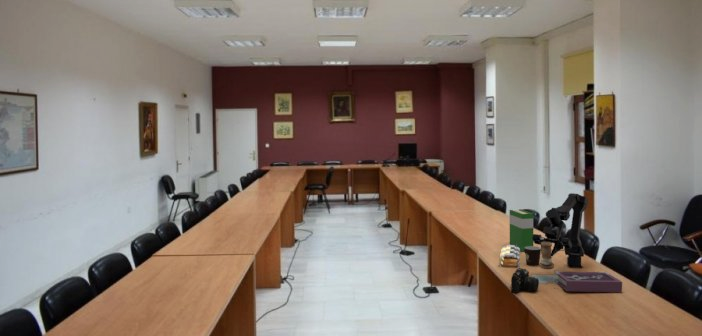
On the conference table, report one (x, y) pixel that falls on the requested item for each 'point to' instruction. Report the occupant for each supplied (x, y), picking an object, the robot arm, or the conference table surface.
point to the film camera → (523, 281)
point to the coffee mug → (532, 255)
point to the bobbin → (546, 256)
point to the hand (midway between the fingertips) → (546, 255)
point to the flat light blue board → (546, 278)
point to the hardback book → (521, 229)
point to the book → (588, 281)
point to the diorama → (510, 253)
